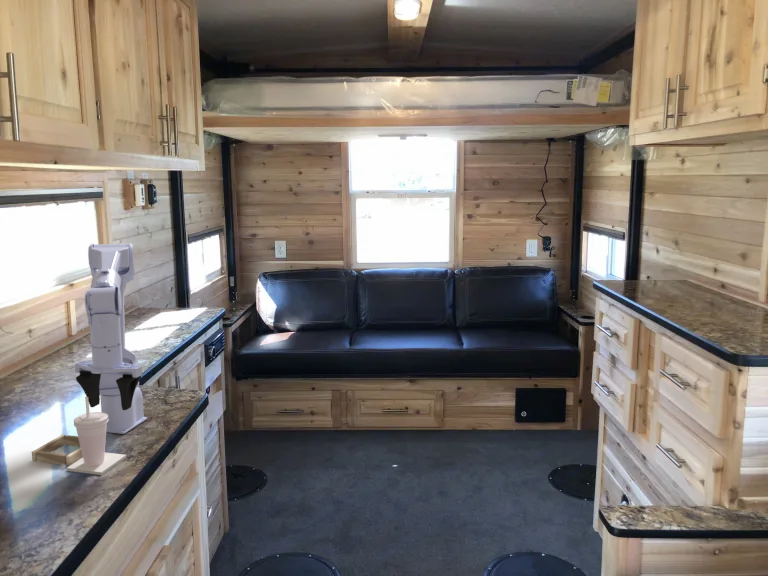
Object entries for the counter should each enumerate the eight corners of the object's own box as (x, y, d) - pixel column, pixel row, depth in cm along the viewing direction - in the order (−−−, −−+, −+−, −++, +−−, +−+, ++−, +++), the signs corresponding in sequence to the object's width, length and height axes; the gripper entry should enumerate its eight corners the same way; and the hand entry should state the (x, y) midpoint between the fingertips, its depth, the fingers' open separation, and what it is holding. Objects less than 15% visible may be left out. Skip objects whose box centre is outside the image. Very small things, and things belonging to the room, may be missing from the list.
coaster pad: (93, 453, 132) (92, 450, 132) (126, 457, 130) (126, 454, 130) (66, 470, 124) (66, 467, 124) (101, 475, 123) (101, 472, 122)
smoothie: (87, 454, 130) (82, 391, 127) (117, 455, 130) (112, 392, 127) (70, 469, 124) (65, 402, 121) (101, 470, 123) (97, 403, 121)
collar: (63, 443, 137) (62, 434, 136) (99, 447, 135) (98, 438, 135) (32, 461, 128) (31, 452, 128) (70, 465, 126) (69, 456, 126)
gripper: (62, 347, 126) (67, 410, 128) (125, 351, 123) (129, 416, 125) (85, 339, 132) (90, 399, 135) (146, 343, 129) (149, 404, 132)
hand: (110, 407), depth 130 cm, fingers open, 7 cm apart
